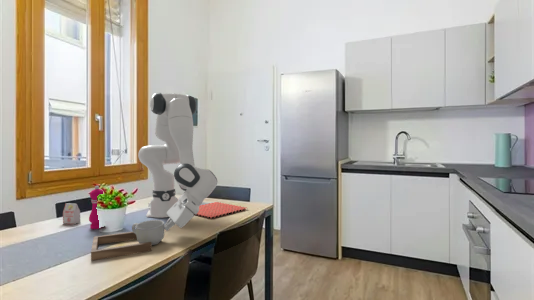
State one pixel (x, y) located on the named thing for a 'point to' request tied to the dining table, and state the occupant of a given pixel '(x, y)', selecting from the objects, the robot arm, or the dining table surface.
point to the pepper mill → (94, 208)
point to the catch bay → (119, 250)
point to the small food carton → (71, 214)
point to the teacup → (149, 231)
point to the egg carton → (217, 209)
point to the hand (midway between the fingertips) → (164, 229)
